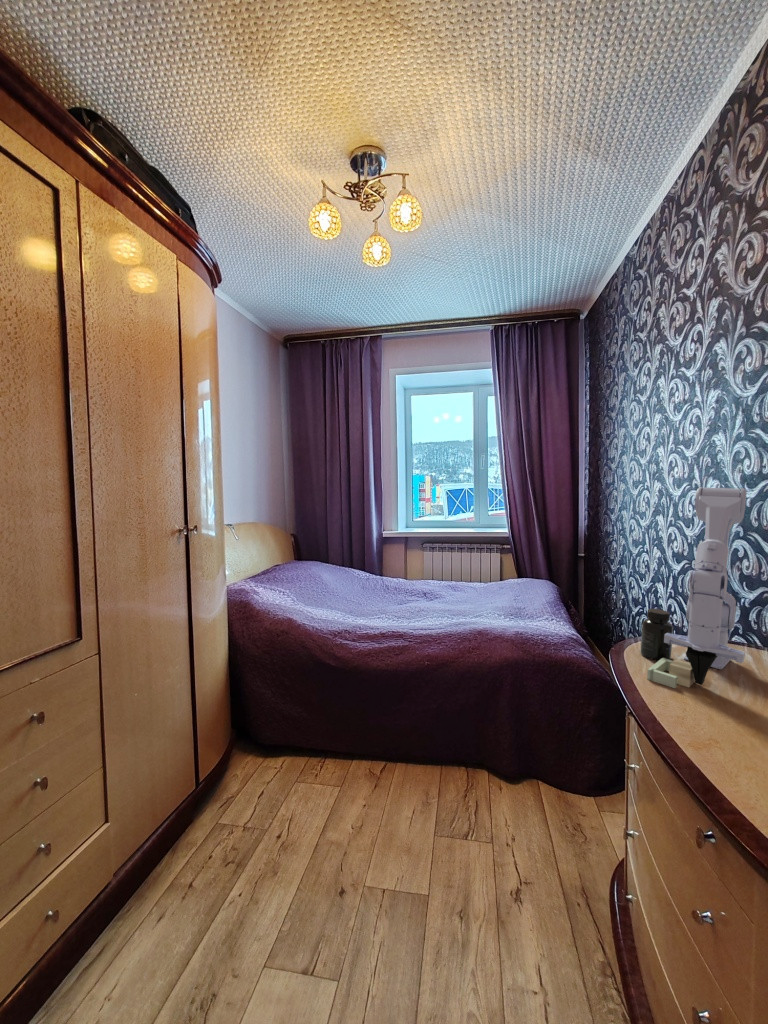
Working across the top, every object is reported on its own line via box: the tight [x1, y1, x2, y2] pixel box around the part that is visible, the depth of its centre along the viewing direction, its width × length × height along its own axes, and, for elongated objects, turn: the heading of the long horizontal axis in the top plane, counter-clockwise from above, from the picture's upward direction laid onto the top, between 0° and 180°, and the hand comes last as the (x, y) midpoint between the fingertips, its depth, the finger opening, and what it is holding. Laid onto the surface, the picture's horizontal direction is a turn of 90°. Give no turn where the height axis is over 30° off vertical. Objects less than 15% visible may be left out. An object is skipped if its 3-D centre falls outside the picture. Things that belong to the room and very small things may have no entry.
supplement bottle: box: [640, 608, 674, 662], centre depth 116 cm, size 7×7×12 cm
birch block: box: [668, 659, 695, 688], centre depth 102 cm, size 4×4×4 cm
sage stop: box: [646, 658, 678, 689], centre depth 104 cm, size 10×6×2 cm, turn 131°
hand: (699, 682), depth 100 cm, fingers closed
